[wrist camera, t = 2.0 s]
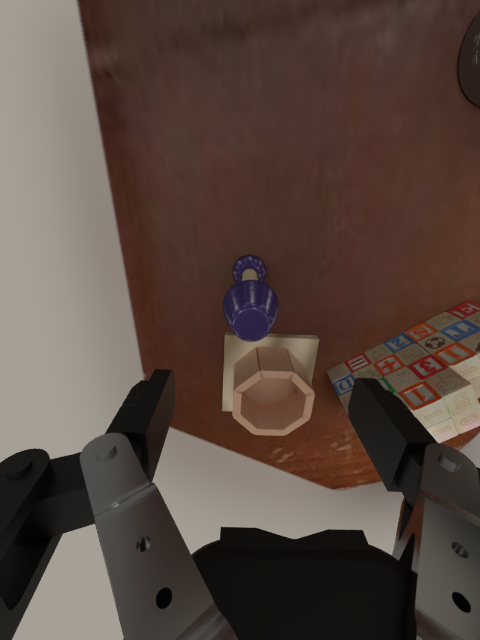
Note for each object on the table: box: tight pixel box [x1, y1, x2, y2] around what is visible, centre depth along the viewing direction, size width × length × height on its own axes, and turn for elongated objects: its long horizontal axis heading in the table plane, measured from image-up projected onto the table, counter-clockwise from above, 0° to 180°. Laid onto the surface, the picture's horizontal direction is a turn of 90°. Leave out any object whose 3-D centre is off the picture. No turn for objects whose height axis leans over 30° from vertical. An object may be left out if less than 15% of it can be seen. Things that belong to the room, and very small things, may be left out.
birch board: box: [222, 332, 319, 411], centre depth 40 cm, size 13×13×1 cm
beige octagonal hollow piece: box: [232, 346, 315, 436], centre depth 36 cm, size 10×10×6 cm
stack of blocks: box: [326, 300, 480, 443], centre depth 33 cm, size 21×6×12 cm, turn 123°
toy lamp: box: [223, 255, 279, 342], centre depth 27 cm, size 5×5×17 cm
